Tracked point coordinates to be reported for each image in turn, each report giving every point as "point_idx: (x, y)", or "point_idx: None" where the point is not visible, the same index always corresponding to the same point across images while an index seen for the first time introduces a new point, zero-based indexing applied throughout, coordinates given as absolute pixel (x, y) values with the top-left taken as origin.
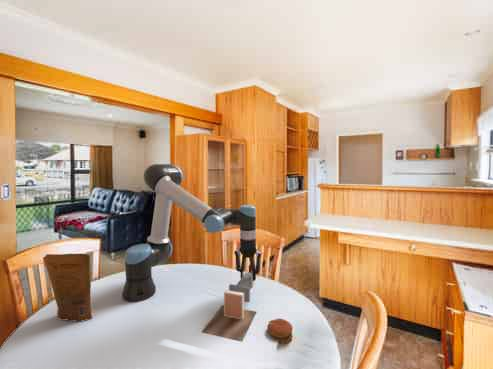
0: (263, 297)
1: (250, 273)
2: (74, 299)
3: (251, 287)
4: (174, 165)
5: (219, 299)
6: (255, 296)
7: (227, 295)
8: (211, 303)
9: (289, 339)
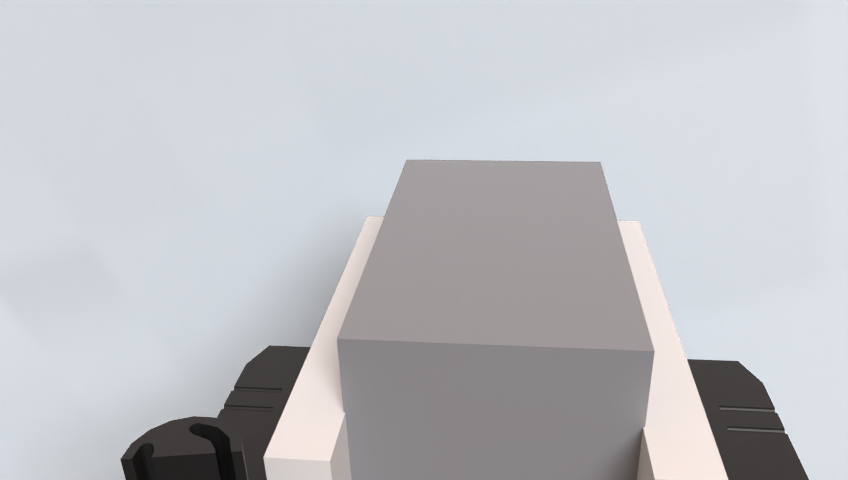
0: (800, 89)
1: (547, 404)
2: None
3: None
4: None
5: (96, 353)
6: (629, 102)
7: None
8: (66, 458)
9: None
